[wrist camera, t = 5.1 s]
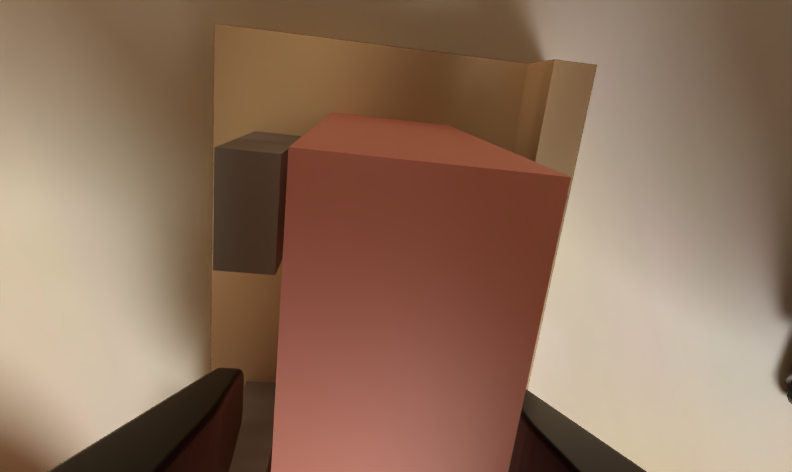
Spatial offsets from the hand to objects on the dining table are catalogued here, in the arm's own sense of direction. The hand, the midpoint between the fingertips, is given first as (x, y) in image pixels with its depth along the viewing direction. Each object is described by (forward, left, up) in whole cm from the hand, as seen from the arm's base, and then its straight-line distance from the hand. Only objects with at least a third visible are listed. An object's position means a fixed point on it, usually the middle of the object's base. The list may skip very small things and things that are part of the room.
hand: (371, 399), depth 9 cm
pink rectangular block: (0, 0, -3) cm, 3 cm away
